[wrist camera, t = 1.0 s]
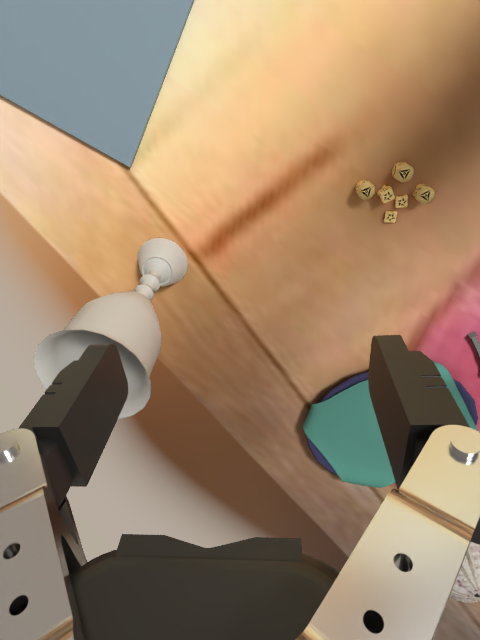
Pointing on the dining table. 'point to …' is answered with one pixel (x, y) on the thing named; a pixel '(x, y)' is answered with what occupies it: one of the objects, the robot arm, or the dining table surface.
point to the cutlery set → (364, 429)
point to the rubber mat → (90, 64)
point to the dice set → (386, 194)
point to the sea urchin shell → (468, 577)
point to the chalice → (120, 325)
